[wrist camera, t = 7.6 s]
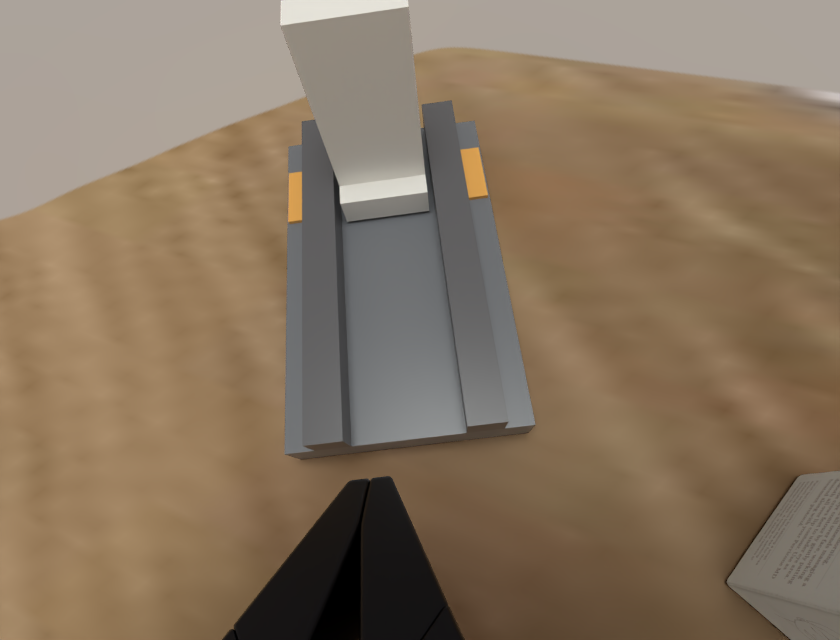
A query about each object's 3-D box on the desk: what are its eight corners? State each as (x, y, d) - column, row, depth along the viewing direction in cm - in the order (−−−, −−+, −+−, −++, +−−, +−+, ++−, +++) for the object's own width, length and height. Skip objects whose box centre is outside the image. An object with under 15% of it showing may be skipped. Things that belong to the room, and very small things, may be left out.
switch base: (528, 432, 20) (541, 417, 16) (300, 459, 20) (270, 449, 17) (473, 148, 26) (475, 97, 23) (300, 171, 26) (278, 124, 23)
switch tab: (429, 210, 22) (411, 28, 14) (347, 221, 22) (279, 47, 14) (418, 132, 24) (397, -70, 15) (343, 142, 24) (282, -52, 16)
